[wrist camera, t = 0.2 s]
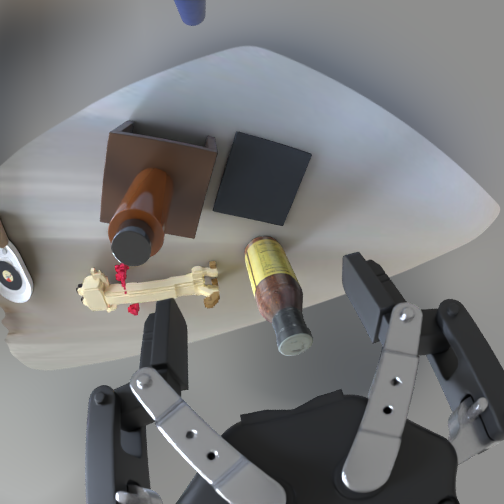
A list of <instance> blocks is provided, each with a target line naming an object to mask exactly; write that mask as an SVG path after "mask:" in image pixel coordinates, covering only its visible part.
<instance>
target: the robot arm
mask: <svg viewBox="0 0 504 504" xmlns="http://www.w3.org/2000/svg"><path fill="white" fill-rule="evenodd" d="M342 283H343V287H344V290H345V292H346V294H347V296H348V298H349V300H350V302H351V303H352V305H353V307H354V309H355V310H356V312H357V314H358V316H359V318H360V320H361V322H362V324H363V326H364V327H365V329H366V331H367V333H368V335H369V337H370V339H371V341H372V343H376V342H378V341H381V343H382V345H383V347H382V351H381V355H380V358H379V362H378V365H377V369H376V372H375V376H374V379H373V382H372V385H371V388H370V391H369V394H368V397H367V398H366V397H363V396H359V395H343V392H342V390H341V389H340V390H337V391H334V392H331V393H327V394H324V395H321V396H317V397H316V398H314V399H312V400H310V401H308V402H307V403H305V404H303V405H301V406H299V407H297V408H295V409H292V410H263V411H258V412H253V413H248V414H243V415H240V417H241V421H240V422H238V423H236V424H234V425H233V426H231V427H230V428H229V429H227V430H226V431H225V432H224V433H223V434H222V435H221V436H220V435H219V434H218V433H217V432H216V431H215V430H213V429H212V428H211V427H210V426H209V425H208V424H207V423H206V422H205V421H204V420H203V419H202V418H201V417H200V416H199V415H198V414H197V413H196V412H195V411H194V410H193V409H192V408H191V407H190V406H189V405H188V404H187V403H186V402H185V401H184V400H183V399H182V398H181V391H182V390H188V350H187V349H188V346H187V325H186V322H185V319H184V317H183V315H182V313H181V311H180V309H179V308H178V306H177V304H176V302H175V300H174V299H173V298H169V299H164V300H160V301H157V303H156V311H155V313H152V314H149V316H148V318H147V320H146V321H145V324H144V334H143V339H142V340H143V341H142V348H141V357H140V366H139V370H137V371H136V372H135V373H134V374H133V376H132V377H131V379H130V382H129V383H128V384H126V385H123V386H121V387H119V388H117V389H114V390H113V389H112V388H111V387H109V386H106V385H102V386H99V387H97V388H96V389H94V391H93V392H92V393H91V395H90V398H89V406H88V418H87V431H86V457H85V466H86V467H85V473H86V474H85V478H86V479H85V480H86V504H163V502H162V499H161V497H160V496H159V495H158V494H157V493H156V492H155V491H153V490H151V488H150V480H149V469H148V457H147V442H146V441H147V440H146V425H148V424H150V423H153V422H156V423H155V424H156V426H157V428H158V429H159V430H160V431H161V432H162V434H163V435H164V436H165V437H166V438H167V440H168V441H169V442H170V443H171V444H172V445H173V446H174V448H175V449H176V450H177V451H178V452H179V453H180V454H181V455H182V456H183V457H184V458H185V459H186V461H187V462H188V463H189V464H190V465H191V466H192V467H193V468H194V469H195V470H196V471H197V473H196V475H195V476H194V478H193V479H192V481H191V482H190V484H189V485H188V487H187V488H186V490H185V491H184V493H183V494H182V496H181V497H180V498H179V500H178V501H177V503H176V504H459V501H458V499H457V496H456V473H457V466H458V465H459V464H461V463H463V462H464V461H466V460H468V459H470V458H471V457H473V456H474V455H476V454H480V453H482V452H484V451H486V450H488V449H489V448H491V447H493V446H494V445H496V444H497V443H499V442H501V441H502V440H504V370H503V368H502V366H501V365H500V363H499V361H498V359H497V358H496V356H495V355H494V353H493V351H492V349H491V347H490V346H489V344H488V342H487V341H486V339H485V338H484V336H483V334H482V333H481V332H480V330H479V328H478V327H477V325H476V323H475V322H474V320H473V319H472V317H471V316H470V315H469V313H468V312H467V310H466V309H465V307H464V306H463V305H462V304H461V303H460V302H459V301H456V300H453V299H447V300H444V301H443V302H442V303H440V305H439V308H438V309H427V310H422V309H420V308H419V307H418V306H416V305H415V304H413V303H408V302H406V301H405V299H404V298H403V296H402V295H401V294H400V292H399V291H398V289H397V288H396V287H395V285H394V284H393V282H392V281H391V280H390V278H389V277H388V276H387V274H385V271H384V270H383V269H382V267H381V266H380V265H379V264H377V263H376V262H374V261H372V260H368V261H366V260H365V259H364V258H363V256H362V255H361V254H360V253H359V252H356V253H352V254H348V255H345V256H343V267H342ZM418 355H426V356H427V358H428V360H429V362H430V364H431V366H432V368H433V370H434V372H435V375H436V377H437V379H438V381H439V383H440V385H441V387H442V390H443V392H444V394H445V396H446V398H447V401H448V403H449V405H450V408H451V410H452V413H451V415H450V417H449V420H448V427H449V439H448V440H447V439H446V438H444V437H443V436H440V435H438V434H436V433H434V432H432V431H430V430H428V429H426V428H424V427H422V426H420V425H418V424H416V423H414V422H412V421H410V420H408V419H406V418H407V415H408V411H409V407H410V403H411V399H412V394H413V390H414V385H415V380H416V375H417V370H418V364H419V356H418Z"/></svg>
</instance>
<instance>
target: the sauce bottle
mask: <svg viewBox="0 0 504 504" xmlns="http://www.w3.org/2000/svg"><path fill="white" fill-rule="evenodd" d="M245 262H246V266H247V270H248V274H249V278H250V281H251V285H252V289H253V293H254V297H255V300H256V302H257V305H258V309H259V311H260V313H261V315H262V316H263V317H264V318H265V319H266V320H267V321H269V322H271V323H272V326H273V328H274V330H275V333H276V336H277V346H278V349H279V351H280V352H281V353H282V354H283V355H287V356H293V355H298V354H301V353H303V352H304V351H306V350H308V349H309V348H310V347H311V345H312V343H313V337H312V334H311V331H310V330H309V328H307V326H306V324H305V322H304V319H303V314H302V303H303V292H302V289H301V286H300V284H299V282H298V280H297V278H296V276H295V273H294V271H293V269H292V267H291V265H290V263H289V261H288V258H287V256H286V254H285V252H284V250H283V248H282V246H281V245H280V244H279V243H278V242H277V241H276V240H275V239H274V238H272V237H267V236H263V237H257V238H255V239H253V240H252V241H251V242H250V243H249V244H248V245H247V247H246V248H245Z"/></svg>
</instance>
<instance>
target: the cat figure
mask: <svg viewBox="0 0 504 504" xmlns="http://www.w3.org/2000/svg"><path fill="white" fill-rule="evenodd" d="M209 264H210V268H208V267H207V268H203V267H201V266H195V267H193V268H192V273H188V274H187V275H183V276H176V277H168V279H163V280H155V281H148V282H141V283H135V282H132V283H125V279H126V271H127V269H129V267H128V265H125V264H123V263H121V264H120V265H115V270H116V272H117V274H116V280H118V281H120V280H121V284H118V283H116V284H109V281H108V278H107V276H105V275H104V273H102V272H101V271H100V270H99V271H98V273H97V270H95V268H91V271H90V272H91V274H92V276H87V277H85V279H84V282H83V283H82V284H78V286H76V287H77V288H76V291H77V293H78V294H79V295H80V296H82V298H81V301H82V303H83V304H84V305H86V306H88V307H89V309H90V310H93V311H100V310H107V312H111V311H114V310H116V309H117V305H118V304H125V303H132V304H133V305H130V307H128V312H131V313H132V314H134V315H138V311H139V303H143V302H151V301H158V300H164V299H169V298H177V297H178V296H185V295H192V294H196V295H205V296H207V297H206V299H204V304H205V307H207V308H213V306H215V304H217V303H218V300H219V299H220V297H219V287H218V281H217V278H215V279H212V280H211V281H212V285H205V280H204V276H208V277H209V276H212V277H218V275H217V269H216V263H215V261H211V262H210V263H209ZM110 304H112V305H110Z"/></svg>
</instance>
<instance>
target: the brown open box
mask: <svg viewBox="0 0 504 504" xmlns="http://www.w3.org/2000/svg"><path fill="white" fill-rule="evenodd" d="M133 125H134V121H126V122H125V123H123V124H122V125H120V126H119V127H117V128H116V129H114V130H113V131H111V132H110V133H109V138H108V144H107V151H106V159H105V167H104V176H103V186H102V197H101V212H100V222H104V223H109V224H110V222H111V220H112V218H113V216H114V214H115V212H116V210H117V208H118V206H119V205H120V203H121V201H122V199H123V197H124V196H125V194H126V192H127V190H128V189H129V187H130V185H131V183H132V182H133V180H134V178H135V177H136V176H137V174H138V173H140V172H141V171H143V170H145V169H149V168H157V169H160V170H163V171H164V172H166V173H167V174H168V175H169V176H170V177H171V179H172V181H173V184H174V193H173V197H172V202H171V207H170V211H169V216H168V221H167V226H166V232H165V234H171V235H176V236H182V237H187V238H193V239H194V238H195V235H196V231H197V227H198V223H199V219H200V215H201V211H202V207H203V203H204V200H205V196H206V192H207V189H208V185H209V181H210V178H211V174H212V171H213V167H214V164H215V160H216V157H217V147H216V141H215V137H212V136H207V140H206V143H205V147H202V146H197V145H193V144H188V143H183V142H178V141H173V140H168V139H162V138H157V137H151V136H145V135H139V134H133V133H132V130H133Z"/></svg>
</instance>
